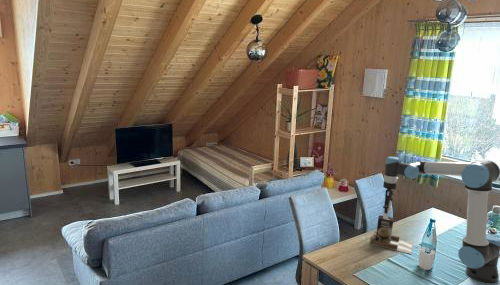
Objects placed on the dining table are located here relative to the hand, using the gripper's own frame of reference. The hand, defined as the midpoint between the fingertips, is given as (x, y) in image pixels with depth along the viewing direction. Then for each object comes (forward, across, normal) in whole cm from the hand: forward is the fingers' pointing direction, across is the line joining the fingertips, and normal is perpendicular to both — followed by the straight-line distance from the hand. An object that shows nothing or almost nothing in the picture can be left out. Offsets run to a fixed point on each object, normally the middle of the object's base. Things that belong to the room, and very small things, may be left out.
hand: (386, 214), depth 231 cm
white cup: (+20, -19, -25) cm, 37 cm away
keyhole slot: (+19, 0, -5) cm, 20 cm away
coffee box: (+19, 0, 0) cm, 19 cm away
